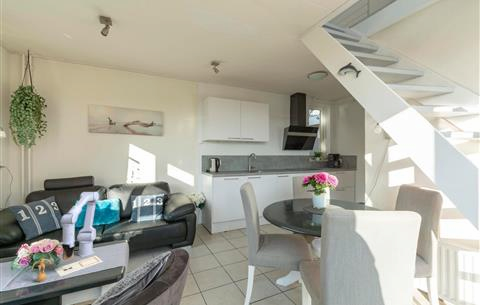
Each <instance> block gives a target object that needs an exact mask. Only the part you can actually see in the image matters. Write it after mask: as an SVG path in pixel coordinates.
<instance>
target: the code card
mask: <svg viewBox="0 0 480 305" xmlns="http://www.w3.org/2000/svg"><path fill="white" fill-rule="evenodd" d="M103 262H104V260H102V259H101V258H99V257H98V256H97V255H93V256H91V257H87V258H84V259H81V260H79V261H75V262H72V263H69V264H65V265H64V266H63V265H62V266H59V267H56V268H54V270H55V271H56V273H57V274H58V275H59V277H63V276H66V275H69V274H72V273H74V272H77V271H80V270H83V269H86V268H89V267H91V266H92V267H93V266H94V265H97V264H100V263H103Z"/></svg>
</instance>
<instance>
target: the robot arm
mask: <svg viewBox="0 0 480 305" xmlns="http://www.w3.org/2000/svg"><path fill="white" fill-rule="evenodd" d="M99 199H100V194H99V192H98V191H83V192H81V194H80V195H79V200H78V201H77V203H76V204H75V205H73V206H72V207H71V208H70V210H69V211H68V212H67V213H65V214H64V215H62V216H61V218H60V221H59V222H60V224H61V228H62V241H61V242H59V244H60V245H61V248H62V249H63V250H66V255H67V258H68V257H71V256H72V253H73V250H74V249H75V248H76V246H77V245H76V244H75V242H76V240H75V227H76V226H75V225H76V224H75V223H76V222H77V221H78V218H79V215H80V214H81V212H82V211H83V207H84V206H85V205H86V211H85V217H84V223H83V227H82V228H81V229H80V230H78V234H77V235H76V236H77V238H76V239H77V242H79V246H78V252H77V253H76V254H77V255H78V256H80V258H84V257H88V256H91V255H93V254H95V253H96V252H95V251H94V249H93V248H94V246H93V244H94V243H93V242H94V240H95V239H96V237H97V229H96V228H94V227H93V224H94V217H95V211H96V204H98V203H99ZM63 250H62V251H63ZM74 251H75V250H74Z"/></svg>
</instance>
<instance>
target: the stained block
mask: <svg viewBox="0 0 480 305" xmlns="http://www.w3.org/2000/svg"><path fill="white" fill-rule="evenodd" d="M74 252H75V250H73V253H72V256H71V257H68V258H67V255H66V250H62V259H63V261H66V260H69V259H73V258H74V256H75V254H74Z"/></svg>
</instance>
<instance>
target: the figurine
mask: <svg viewBox="0 0 480 305" xmlns="http://www.w3.org/2000/svg"><path fill="white" fill-rule="evenodd" d="M46 261H48V263H49V264H50V265H52V262H51V261H50V260H49V259H47V258H43V257H42V258H40V259H39V260H37V261H35V262H34V263H33V264H32V266H31V271H32V270H33V268H34V266H35V265H36V264H38V263H39V265H38V272H39V274H38V275H37V276H36V280H37V282H43V281H44V280H46V279H47V277H48V276H47V273H45V267H46V264H45V262H46ZM41 268H42V272H41Z"/></svg>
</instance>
